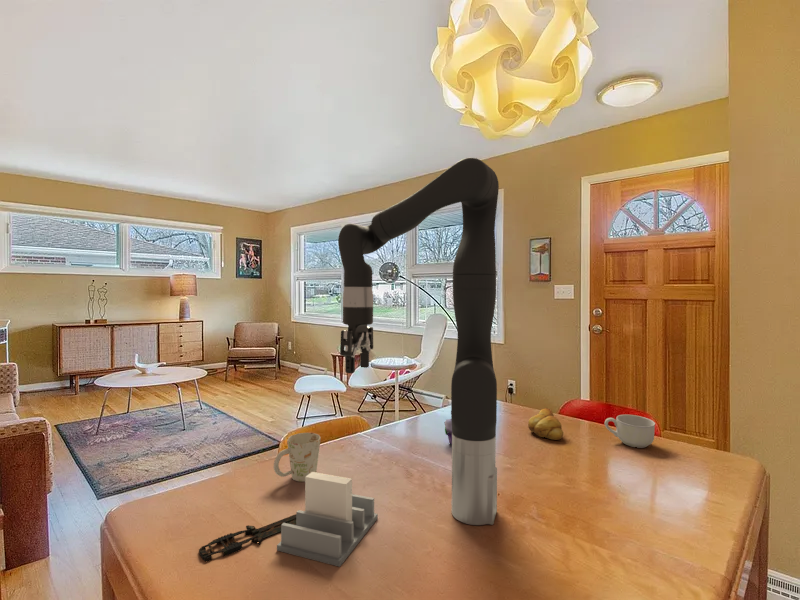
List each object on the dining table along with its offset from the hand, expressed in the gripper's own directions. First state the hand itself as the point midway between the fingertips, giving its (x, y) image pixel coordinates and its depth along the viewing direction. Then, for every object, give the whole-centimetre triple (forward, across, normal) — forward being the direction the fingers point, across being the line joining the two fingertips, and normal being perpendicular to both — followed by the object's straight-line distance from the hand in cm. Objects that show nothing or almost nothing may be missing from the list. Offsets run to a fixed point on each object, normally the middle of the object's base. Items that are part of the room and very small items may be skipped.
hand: (357, 370), depth 103 cm
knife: (+29, -25, +7) cm, 39 cm away
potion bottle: (+28, +34, -19) cm, 48 cm away
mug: (+28, -4, +15) cm, 32 cm away
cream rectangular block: (+27, -22, -4) cm, 35 cm away
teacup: (+28, +54, -70) cm, 92 cm away
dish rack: (+28, -22, -5) cm, 36 cm away
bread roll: (+28, +52, -45) cm, 75 cm away
